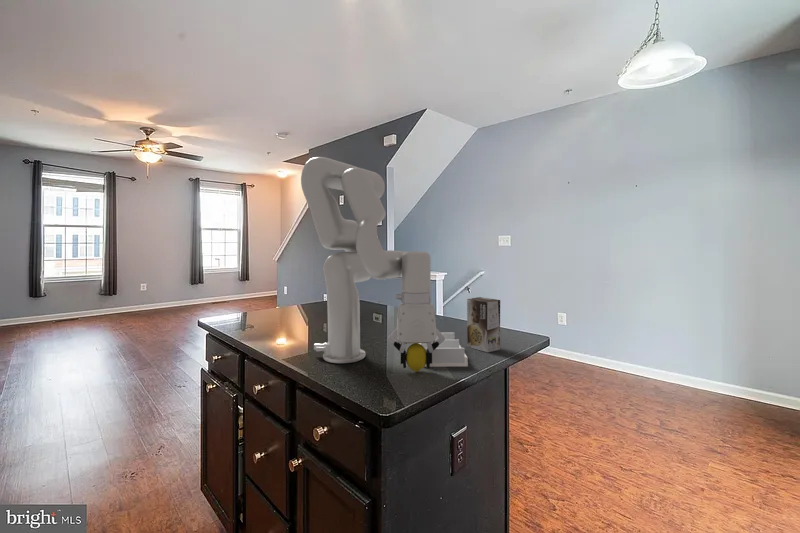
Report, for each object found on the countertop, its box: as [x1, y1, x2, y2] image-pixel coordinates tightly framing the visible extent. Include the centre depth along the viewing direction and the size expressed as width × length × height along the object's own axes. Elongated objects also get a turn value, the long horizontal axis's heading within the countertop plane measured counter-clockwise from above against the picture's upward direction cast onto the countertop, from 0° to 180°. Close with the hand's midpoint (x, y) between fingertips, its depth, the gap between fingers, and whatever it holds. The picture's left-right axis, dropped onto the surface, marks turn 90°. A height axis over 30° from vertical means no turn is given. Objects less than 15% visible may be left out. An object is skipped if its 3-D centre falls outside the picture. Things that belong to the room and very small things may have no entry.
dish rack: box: [418, 331, 469, 368], centre depth 109 cm, size 13×19×5 cm
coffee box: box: [466, 296, 501, 353], centre depth 117 cm, size 9×6×16 cm
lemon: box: [406, 343, 427, 373], centre depth 95 cm, size 6×6×8 cm
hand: (416, 365), depth 95 cm, fingers closed on lemon, 5 cm apart
